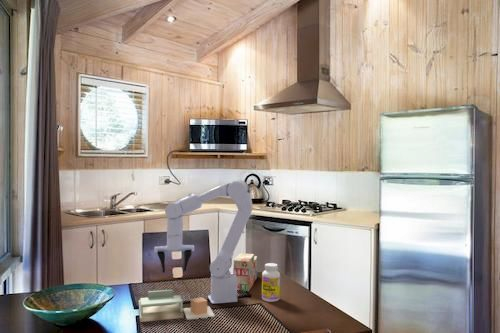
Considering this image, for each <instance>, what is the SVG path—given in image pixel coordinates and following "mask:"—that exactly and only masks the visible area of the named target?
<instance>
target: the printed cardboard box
mask: <svg viewBox="0 0 500 333" xmlns="http://www.w3.org/2000/svg"><path fill="white" fill-rule="evenodd" d="M258 266H259V265H258V256H256V255H255V253H244V252H242V253H241V252H239V254H238V255H237V256H236V257H235V258H234V259H233V269H232V270H233V273H232V275H236V277H237V290H243V291H242V292H246V291H248V292H249V291H250V290H251V288H252V287H253V286H254V282H256V280H257V278H258V270H259V269H258V268H259V267H258Z"/></svg>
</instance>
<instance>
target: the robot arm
mask: <svg viewBox="0 0 500 333" xmlns="http://www.w3.org/2000/svg"><path fill="white" fill-rule="evenodd" d="M251 190H252V189H250V186H249V184H248V183H247V182H246V181H244V180H235V181H232V182H230V183H223V184H220V185H219V186H216V187H214V188H212V189H209V190H207V191H206V192H203V193H201V194H197V193H189V194H187V196H186V197H184V198H181V199H180V198H179V199H176V202H175V201H174V202H170V203H169V204H167V205H166V207H165V209H164V213H165V215H166V217H167V218H166V220H167V221H166V223H167V224H166V225H167V226H166V245H160V246H154V249H153V250H154V251H153V252H154V254H157V257H158V259H159V261H160V265H161V270H162V271H161V272H162V273H165V272H166V264H165V263H166V262H165V261H166V255H165V253H172V252H173V253H174V252H183V264H182V269H183V272H186V271H187V267H188V263H189V260H190V258H191V257H192V254H193V253H192V252H195V245H194V244H183V232H184V231H183V229H184V226H183V225H184V223H183V222H184V221H183V220H184V219H183V217H184V215H187V214H189V213H192V212H194V211H196V210H199V209H201V208H202V205H203V203H205V202H209V201H211V200H213V199H216V198H218V197H226V198H227V197H230V199H231V200H232V201H233V202H234V203H235V205H236V207H237V211H236V214H235V216H234V219H233V221H232V223H231V226H230V228H229V230H228V232H227V234H226V237H225V239H224V241H223V245H222V246H221V248H220V250H219V252H218V253H217V256H216V257H215V259H214V260H213V261H212V262H210V265H209V272H210V294H209V295H207V298H208V299H209V301H210V303H211V304H212V305H213V304H226V303H237V302H238V291H237V277H236V275H233V274H232V273H231V270H230V269H231V268H232V265H233V257H234V253H235V250H236V248H237V246H238V244H239V241H240V239H241V237H242V235H243V233H244V230H245V228H246V226H247V223H248V221H249V218H250V216H251V214H252V211H253V209H254V208H253V206H254V205H253V200H252V191H251Z"/></svg>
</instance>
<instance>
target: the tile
mask: <svg viewBox="0 0 500 333" xmlns="http://www.w3.org/2000/svg"><path fill="white" fill-rule="evenodd" d="M183 314H184V316H185V318H186V320H187V321H188V320H200V319H199V318H201V319H209V318H208V317H211V318H215V317H216V315H215V313H214V312H213V310H212V308H211V307H210V305H207V313H203V314H199V315H195V314H194V313H192V312H191V307H184V308H183Z"/></svg>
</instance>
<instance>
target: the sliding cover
mask: <svg viewBox="0 0 500 333" xmlns="http://www.w3.org/2000/svg"><path fill="white" fill-rule="evenodd" d="M139 298H140V299H139V300H140V313H141V316H143V307H150V306H162V305H173V304H177V303H178V306H179V309H180V312H183V313H184V311H183V305H184V304H183V303H184V302H183V299H182V295H181V294H176V295H174V289H163V290H160V289H159V290H148V292H147V296H146V297H139Z"/></svg>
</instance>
